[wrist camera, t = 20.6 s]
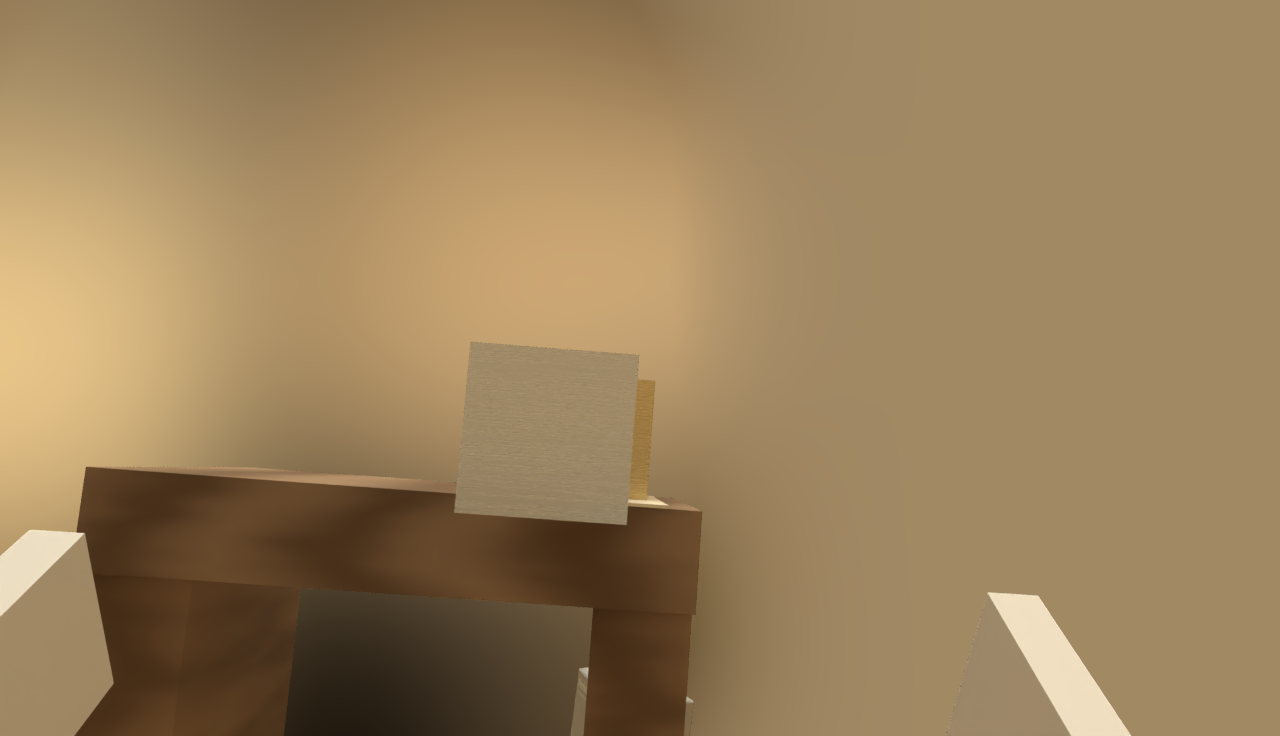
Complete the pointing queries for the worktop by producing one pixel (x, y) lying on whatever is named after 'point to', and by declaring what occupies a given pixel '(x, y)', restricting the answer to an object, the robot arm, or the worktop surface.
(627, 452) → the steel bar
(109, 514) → the walnut shelf
